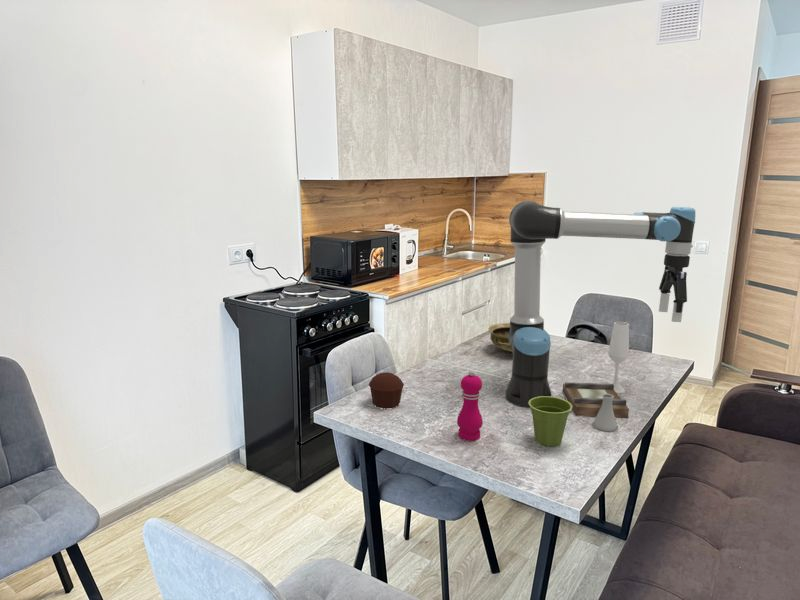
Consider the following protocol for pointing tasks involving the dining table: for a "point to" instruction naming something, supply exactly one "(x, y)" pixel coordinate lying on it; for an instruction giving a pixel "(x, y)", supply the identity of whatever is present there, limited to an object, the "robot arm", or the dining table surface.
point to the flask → (606, 415)
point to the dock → (593, 399)
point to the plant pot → (549, 419)
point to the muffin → (386, 390)
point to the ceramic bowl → (501, 336)
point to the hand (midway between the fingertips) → (669, 316)
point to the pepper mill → (470, 408)
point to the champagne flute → (619, 349)
